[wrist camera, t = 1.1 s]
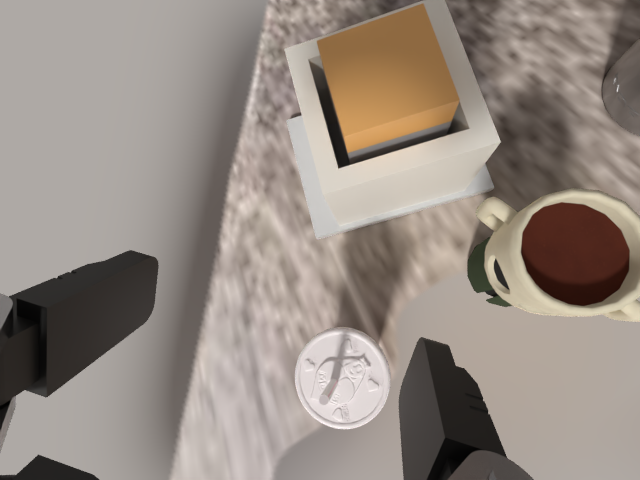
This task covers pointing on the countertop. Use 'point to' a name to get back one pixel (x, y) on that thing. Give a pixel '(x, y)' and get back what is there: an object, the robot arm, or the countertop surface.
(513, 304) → the character mug
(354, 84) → the orange block
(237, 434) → the countertop surface
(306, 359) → the smoothie
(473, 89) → the white open box
